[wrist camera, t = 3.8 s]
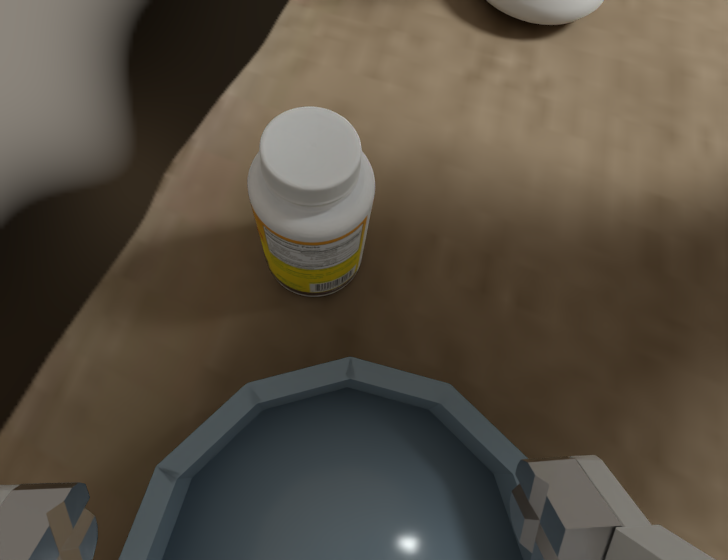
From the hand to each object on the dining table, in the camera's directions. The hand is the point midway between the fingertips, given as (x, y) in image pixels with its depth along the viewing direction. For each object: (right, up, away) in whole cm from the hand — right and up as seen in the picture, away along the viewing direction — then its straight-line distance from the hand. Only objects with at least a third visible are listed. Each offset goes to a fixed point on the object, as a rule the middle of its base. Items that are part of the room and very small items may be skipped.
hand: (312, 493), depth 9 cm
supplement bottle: (-2, +5, +18) cm, 19 cm away
